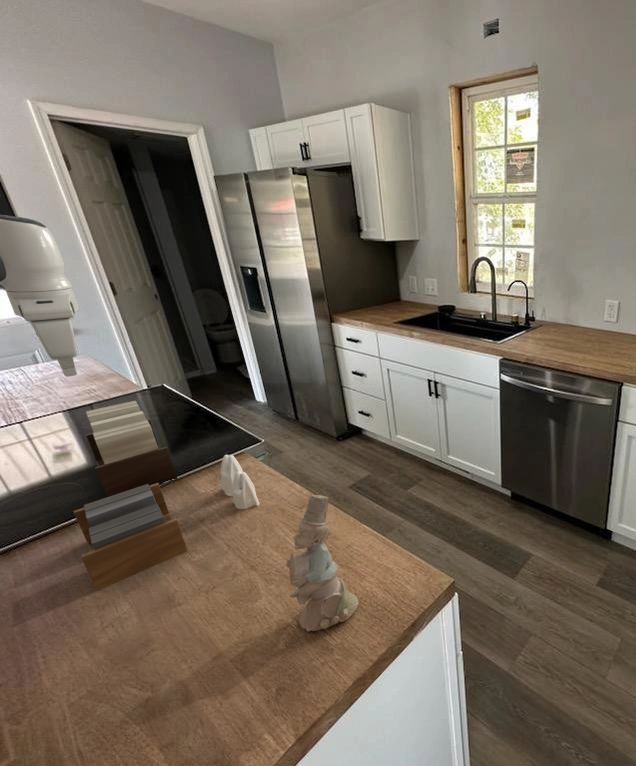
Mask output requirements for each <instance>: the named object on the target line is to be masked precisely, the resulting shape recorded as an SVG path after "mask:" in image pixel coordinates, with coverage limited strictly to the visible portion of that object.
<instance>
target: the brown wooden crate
mask: <svg viewBox="0 0 636 766" xmlns="http://www.w3.org/2000/svg"><path fill="white" fill-rule="evenodd" d="M140 411H141V408H140V406H139V404H138V402H137V401H136V400H132V401H127V402H123V403H117V404H113V405H108V406H104V407H100V408H99V407H98V408H95V409H91V410H85V413H86V416H87V419H88V422H89V424H90V423H93V422H97V421H101V420H106V419H110V418H114V417H118V416H123V415H127V414H131V413H136V412H140ZM85 437H86V439H87V442H88V444H89V446H90V449H91V452H92V454H93V457H94V459H95V461H96V465H97V466H95V467H94V469H95V471H96V474H97V476H98V479H99V481H100V484H101V486H102V489H103V491H104V493H105V496H106V498H107V497H110V496H113V495H116V494H119V493H122V492H125V491H128V490H131V489H134V488H137V487H140V486H143V485H146V484H148V485H149V486H150V485H153V484H156V483H163V482H165V481H168V480H172V479H176V480H178V475H177V474H176V470H175V468H174V465H173V461H172V458H171V455H170V452H169V448H168V447H167V446H164V447H161V446H160V444H159V442H158V439H157V436H156V433H155V430H154V427H153V423H152V421H151V418H149V419H146V420H143V421H139V422H135V423H131V424H127V425H123V426H119V427H115V428H111V429H107V430H103V431H98V432H92V433H87V434H85Z"/></svg>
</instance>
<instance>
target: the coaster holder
mask: <svg viewBox="0 0 636 766" xmlns="http://www.w3.org/2000/svg"><path fill="white" fill-rule="evenodd" d="M73 514H74V517H75V519H76V521H77V523H78V525H79V528H80V530H81V532H82V534H83V538H84V539H85V542H86V543H87V547H88V552H85V553H83V554H81V555H80V556H81V560H82V562H83V564H84V566H85V569H86V570H87V572H88V575H89V577H90V580H91V581H92V584H93V586H94V587H95V590H96V591H97V592H99V591H101V590H103V589H106V588H108V587H111V586H112V585H114V584H117V583H119V582H121V581H124V580H127V579H129V578H131V577H133V576H135V575H137V574H139V573H141V572H144V571H147V570H148V569H151V568H153V567H156V566H157V565H160V564H162V563H164V562H167V561H169V560H171V559H174V558H175V557H178V556H181V555H183V554H185V553H188V548H187V545H186V542H185V539H184V536H183V533H182V530H181V528H180V524H179V522H178V518H177V517H176V518H172V516H171V514H170V511H169V509H168V505H167V503H166V499H165V496H164V494H163V491H162V488H161V486H160V485H159V483H156V484H153V485H150V486H149V485H148V484H146V485H143V486H140V487H137V488H134V489H131V490H128V491H125V492H122V493H119V494H116V495H113V496H110V497H107V496H106V497H104V498H101V499H97V500H95V501H92V502H88V503H85V504H83V507H81V508H79V509H76V510H73Z"/></svg>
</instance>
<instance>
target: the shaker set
mask: <svg viewBox="0 0 636 766" xmlns="http://www.w3.org/2000/svg"><path fill="white" fill-rule="evenodd" d="M220 478H221V482H220V483H221V484H220V485H221V486H220V487H221V488H220V489H221V491H224V494H225V495H226V496H228V497H231V496H232V504H233V505H234V507H235V508H236V509H238V510H247V509H249V508H251V507H254V506H256V507H258V506H259V505H260V501H259V499H258V496H257V492H256V487H255V485H254V483H253V481H252V480H251V478H250V477H249V475H248V473H246V472H245V471H243V469H242V466H241V465H240V463H239V461H238V460H237V458H236V457H235V456H234V455H233V454H224V456H223V457H222V460H221V464H220Z"/></svg>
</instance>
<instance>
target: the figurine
mask: <svg viewBox="0 0 636 766" xmlns="http://www.w3.org/2000/svg"><path fill="white" fill-rule="evenodd" d="M329 501H330V500H329V496H326V495H322V494H321V495H319V494H311V495H310V497H309V500H308V503H307V506H306V510H305V513H304V514H303V518H302V519H301V521H300V523H298V527H297V528H298V529H297V531H298V532H297V533H296V534H294V536H293V540H294V549H295V550H303V549H306V550H304V551H303V552H298V553H297V552H296V553H294V552H291V553H290V555H289V557H287V558H286V561H285V562H286V563H285V565H286V568H287V569H289V580H290V585H291V586H293V587H296V590H295V591H294V592H292V593H291V594H290V595H289V598H293V599H294V598H296V601H297V603H298V604H299V605H301V606H302V605H305V606H304V607H303V609H302V611H301V612H300V615H299V617H298V619H299V620H298V623H299V625H300V627H301V629H303V630H305V631H306V632H311V631H312V632H315V631H320V630H326V629H327V628H329V627H331V626H334V625H336V624H338V623H339V622H340V623H343V622H345V621H347V620H348V619H349V618H350V617H351V616H352V615H353V614H354V612H355V611H356V610H357V609H358V606H359V599H358V597H357V595H355V594H354V593H353V592H350V591H349V590H348V589H347V587H346V584H345V581H344V579H343V578H342V577H340V576H338V574H339V565H338V564H337V563H336V562H335V561H334V560H333V557H332V554H331V553H330V551H329V549H328V547H327V545H326V543H325V542H326V541H327V540H328V539H329V536H330V535H331V529H330V526H328V525H327V522H326V520H327V513H328V507H329Z"/></svg>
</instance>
